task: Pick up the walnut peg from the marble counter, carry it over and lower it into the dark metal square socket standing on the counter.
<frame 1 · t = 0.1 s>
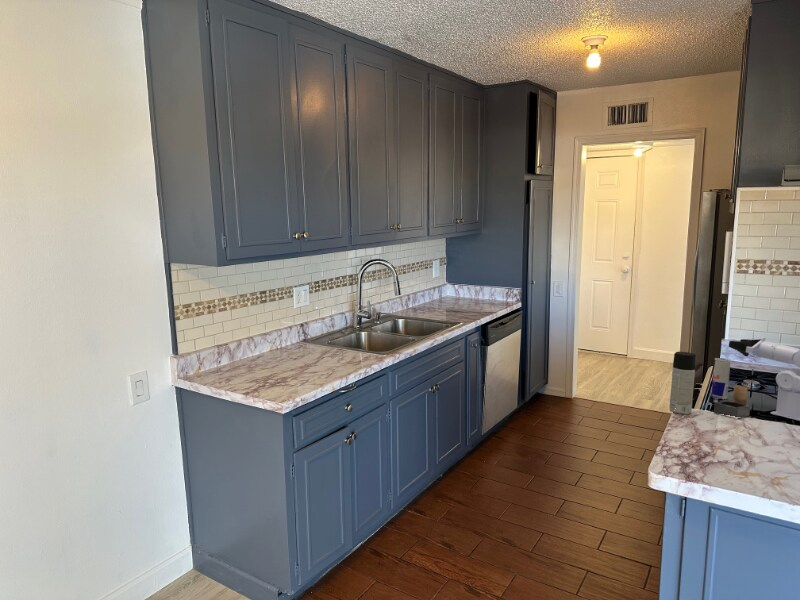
hand: (735, 342, 201), 22 cm above the countertop, tool horizontal, fingers open, 7 cm apart
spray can: (680, 412, 188), on the countertop
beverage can: (719, 399, 206), on the countertop
peg: (739, 409, 193), on the countertop
socket: (731, 414, 186), on the countertop
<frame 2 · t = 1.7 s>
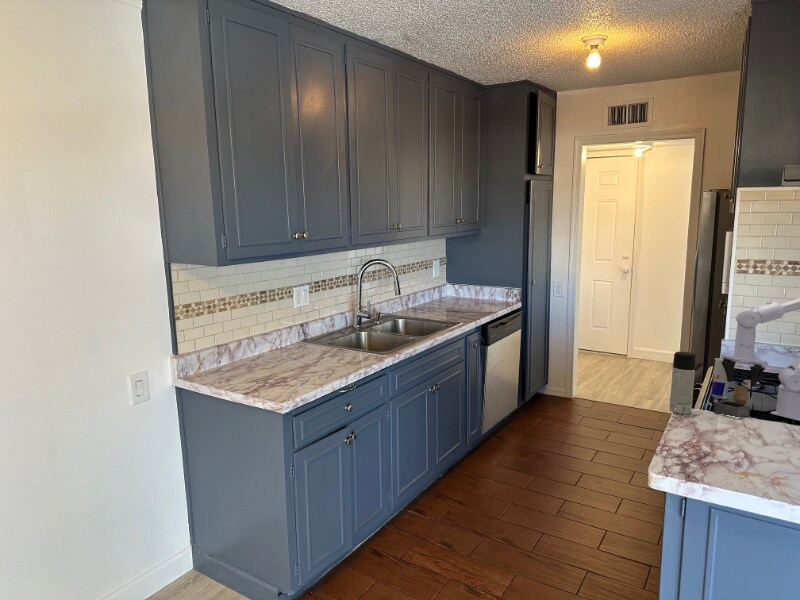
hand: (741, 383, 192), 9 cm above the countertop, tool pointing down, fingers open, 7 cm apart
nothing on the countertop moved.
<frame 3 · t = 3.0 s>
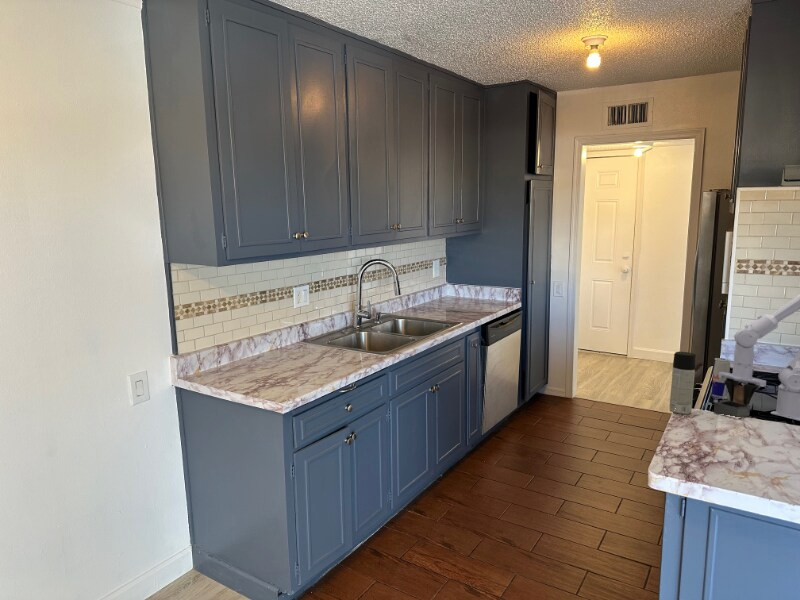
hand: (739, 402, 193), 2 cm above the countertop, tool pointing down, fingers closed on peg, 4 cm apart
peg: (739, 409, 193), on the countertop, touching gripper
everything else where it was.
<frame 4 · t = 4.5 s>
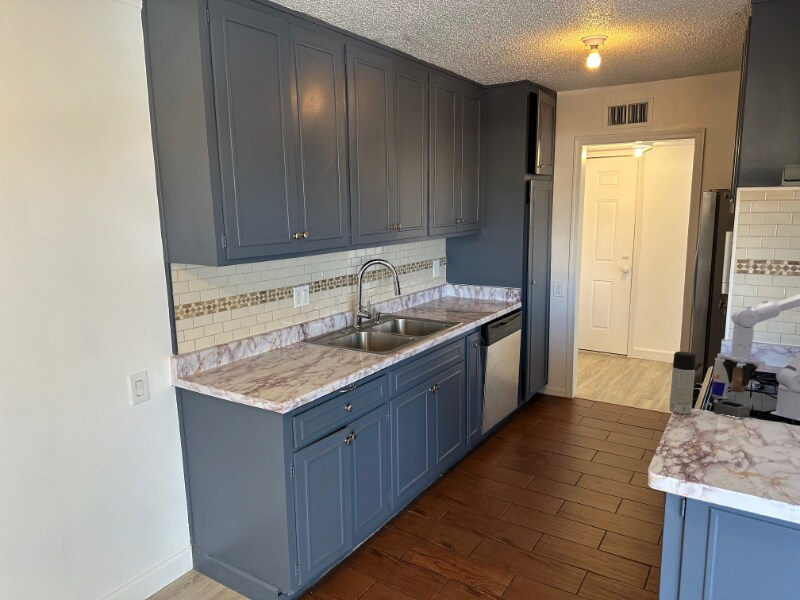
hand: (738, 384, 189), 9 cm above the countertop, tool pointing down, fingers closed on peg, 4 cm apart
peg: (737, 391, 190), point 7 cm above the countertop, touching gripper
everything else where it was.
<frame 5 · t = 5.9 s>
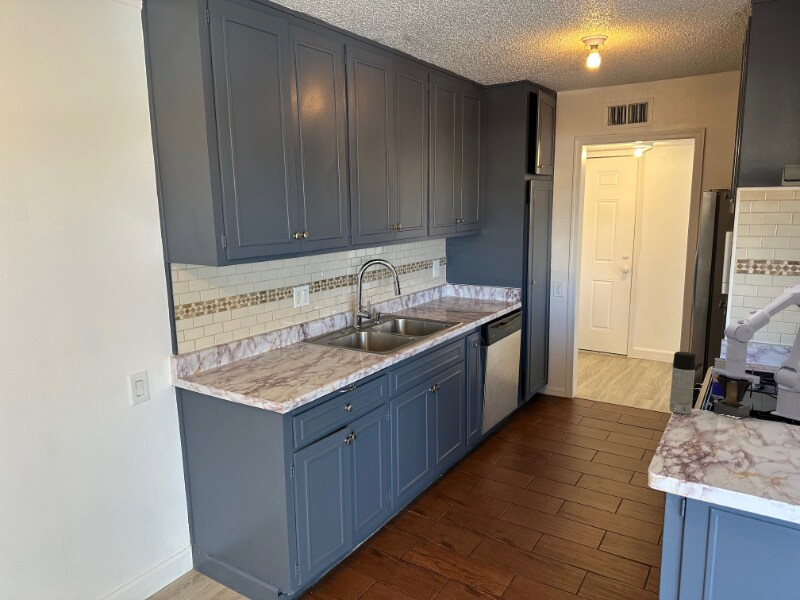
hand: (732, 399, 186), 5 cm above the countertop, tool pointing down, fingers closed on peg, 4 cm apart
peg: (731, 406, 186), point 3 cm above the countertop, touching gripper
everything else where it was.
when the fingers open (4 cm above the countertop, at t = 6.5 s): peg drops 2 cm, resting in socket.
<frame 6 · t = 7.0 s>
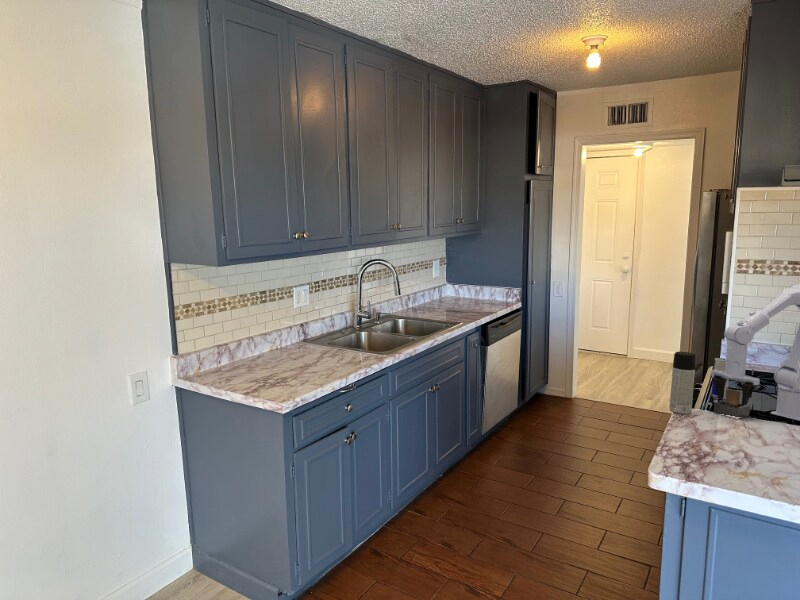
hand: (732, 401, 186), 4 cm above the countertop, tool pointing down, fingers open, 7 cm apart
peg: (731, 414, 186), resting in socket
everything else where it was.
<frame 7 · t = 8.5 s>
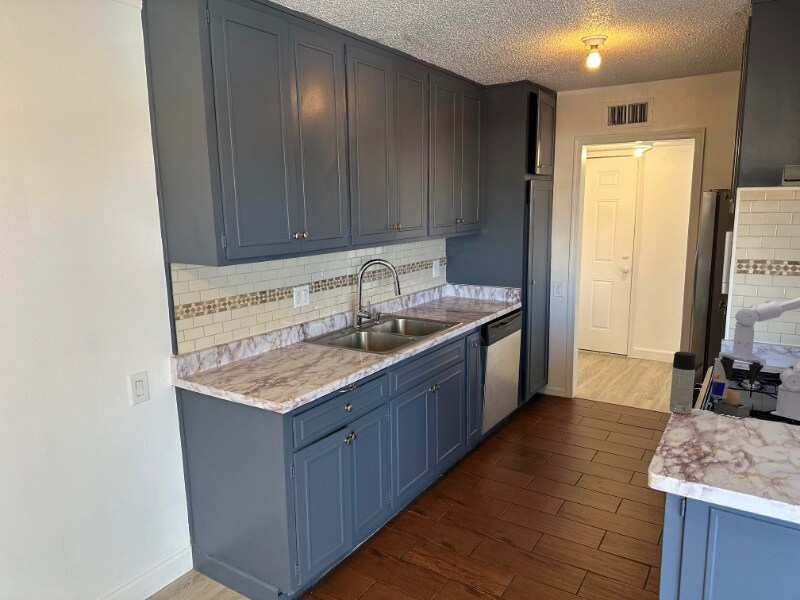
hand: (739, 381, 193), 9 cm above the countertop, tool pointing down, fingers open, 7 cm apart
nothing on the countertop moved.
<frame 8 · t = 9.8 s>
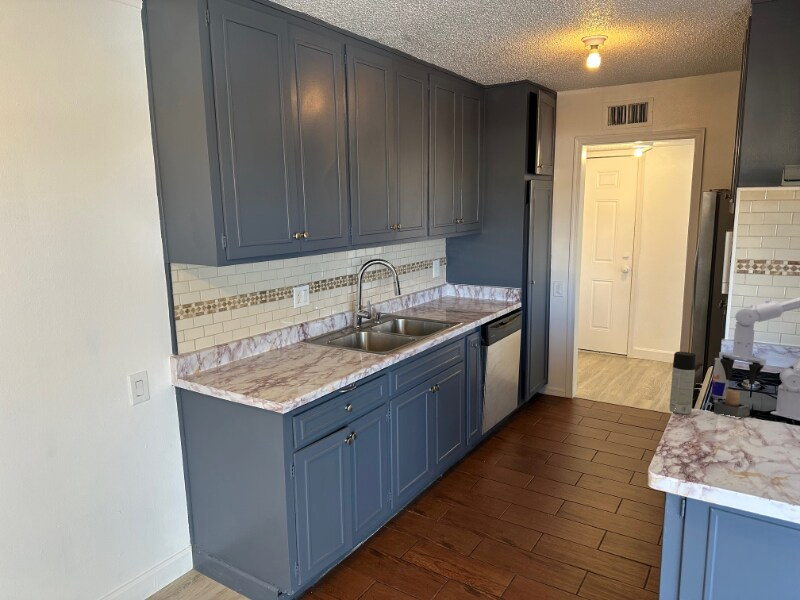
hand: (739, 381, 193), 9 cm above the countertop, tool pointing down, fingers open, 7 cm apart
nothing on the countertop moved.
at the end: peg 0.0 cm off-centre on the socket, point 0.0 cm above the socket's base; peg tilted 0°; the gripper is holding nothing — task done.
